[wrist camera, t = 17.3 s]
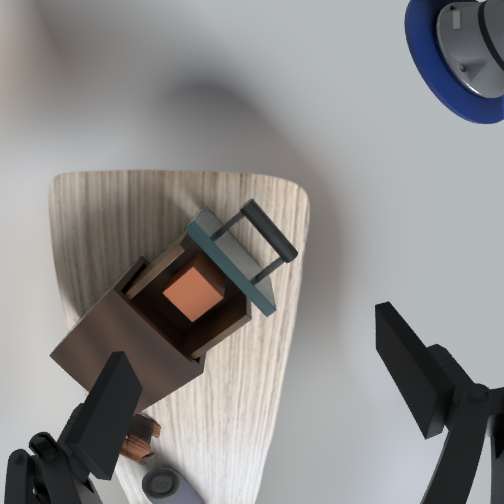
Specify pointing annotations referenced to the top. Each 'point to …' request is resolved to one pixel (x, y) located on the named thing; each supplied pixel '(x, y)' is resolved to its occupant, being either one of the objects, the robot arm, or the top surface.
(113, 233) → the top surface
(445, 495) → the robot arm
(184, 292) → the block
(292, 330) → the top surface
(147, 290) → the drawer
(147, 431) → the pottery mug
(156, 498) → the bluetooth speaker
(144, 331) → the cabinet
